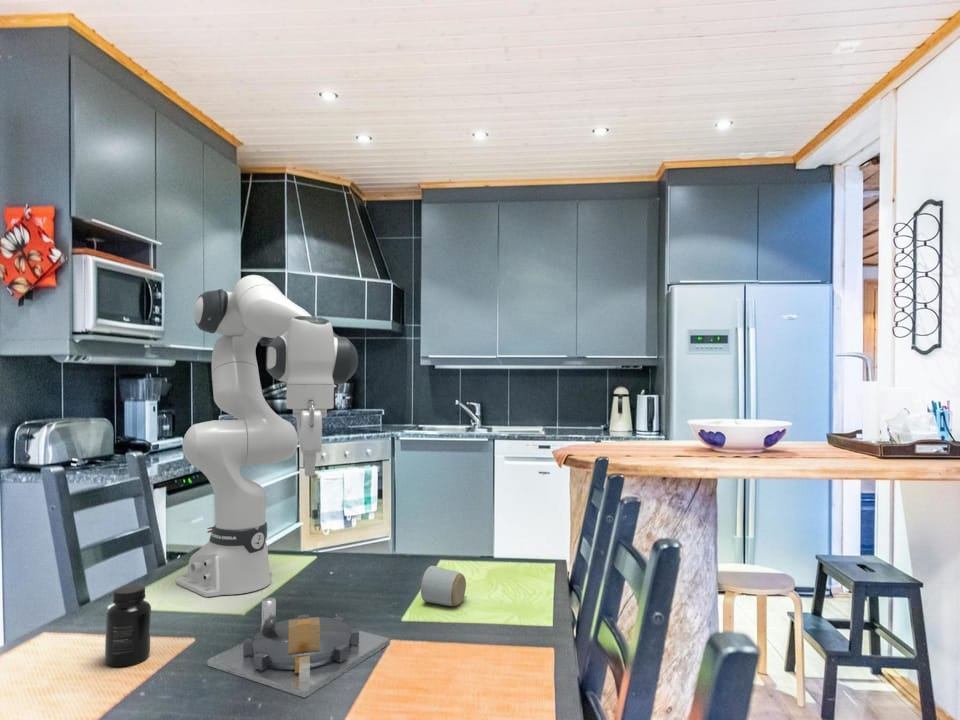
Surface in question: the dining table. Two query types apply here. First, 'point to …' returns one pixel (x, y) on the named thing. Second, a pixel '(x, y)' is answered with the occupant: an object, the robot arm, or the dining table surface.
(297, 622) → the tan block
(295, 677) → the base plate
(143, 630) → the supplement bottle
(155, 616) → the dining table surface
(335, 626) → the sprocket
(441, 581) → the ceramic mug
